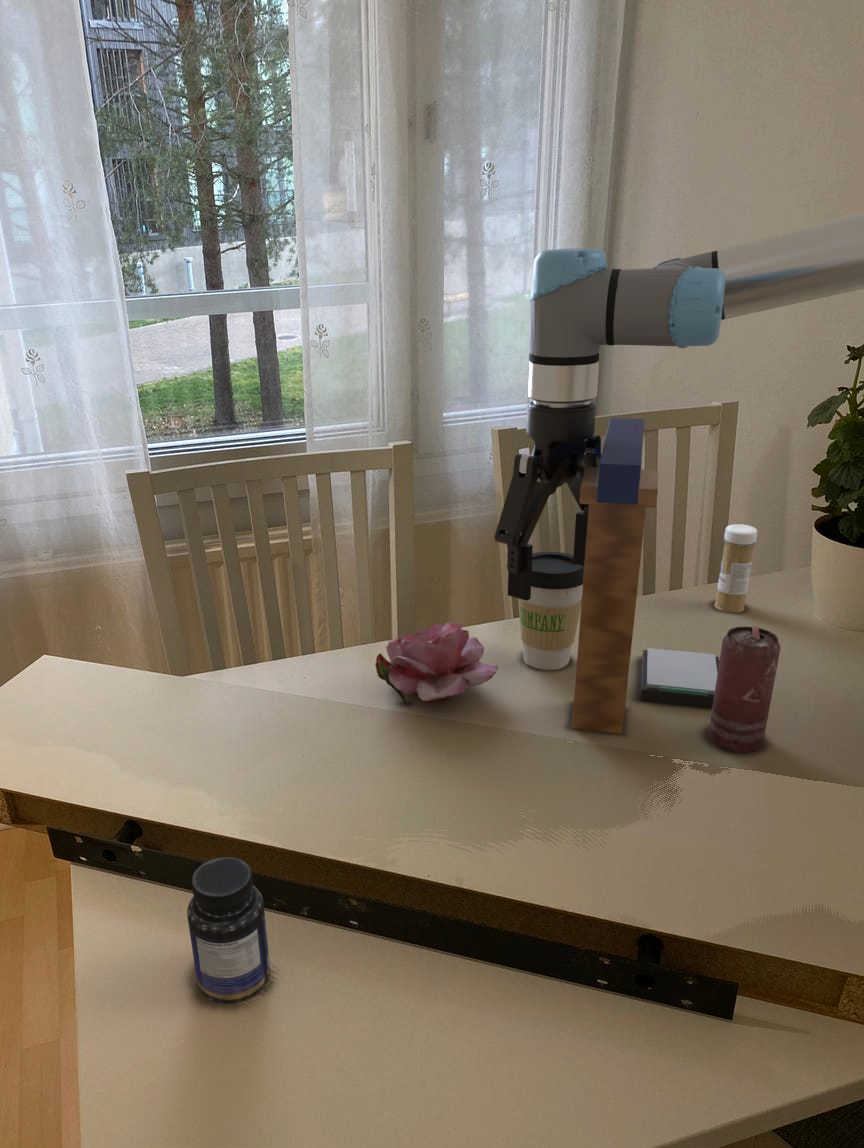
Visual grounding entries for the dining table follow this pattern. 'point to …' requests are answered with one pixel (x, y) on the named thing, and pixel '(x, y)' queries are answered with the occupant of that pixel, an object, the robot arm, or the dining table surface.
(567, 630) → the coffee cup
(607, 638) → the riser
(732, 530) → the sprinkles bottle
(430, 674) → the flower
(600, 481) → the spaghetti box
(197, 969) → the pill bottle
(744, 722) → the can
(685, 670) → the scale
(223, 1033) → the dining table surface
